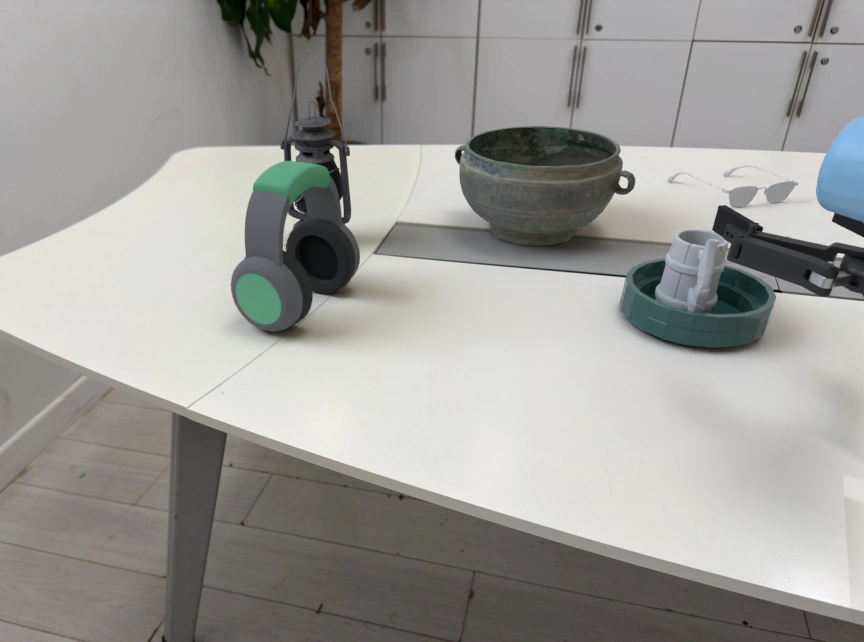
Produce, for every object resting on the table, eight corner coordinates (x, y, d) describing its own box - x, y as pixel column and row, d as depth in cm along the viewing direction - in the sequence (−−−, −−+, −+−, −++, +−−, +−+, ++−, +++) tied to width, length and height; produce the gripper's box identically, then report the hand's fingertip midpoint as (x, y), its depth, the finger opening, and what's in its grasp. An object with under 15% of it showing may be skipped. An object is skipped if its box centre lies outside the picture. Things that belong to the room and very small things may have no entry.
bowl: (412, 233, 118) (414, 145, 110) (488, 194, 135) (495, 115, 126) (586, 279, 101) (605, 180, 92) (650, 228, 117) (670, 139, 109)
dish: (771, 308, 92) (783, 274, 89) (752, 367, 80) (765, 330, 77) (638, 280, 100) (645, 248, 97) (602, 330, 88) (609, 295, 85)
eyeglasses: (722, 209, 124) (728, 188, 122) (663, 181, 138) (667, 161, 136) (794, 201, 126) (801, 180, 124) (728, 174, 141) (733, 154, 139)
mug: (708, 296, 93) (733, 212, 87) (724, 338, 84) (753, 247, 77) (649, 291, 95) (669, 209, 88) (658, 332, 86) (681, 243, 79)
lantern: (273, 248, 114) (253, 53, 98) (303, 227, 122) (290, 44, 105) (338, 259, 110) (330, 57, 93) (365, 236, 118) (362, 46, 101)
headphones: (296, 346, 87) (284, 193, 76) (229, 327, 91) (208, 180, 80) (366, 288, 100) (364, 151, 89) (304, 274, 105) (295, 143, 94)
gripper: (784, 355, 55) (659, 254, 73) (1061, 331, 57) (874, 238, 75) (816, 272, 51) (675, 186, 69) (1114, 248, 53) (903, 170, 71)
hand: (779, 213), depth 72 cm, fingers open, 13 cm apart
